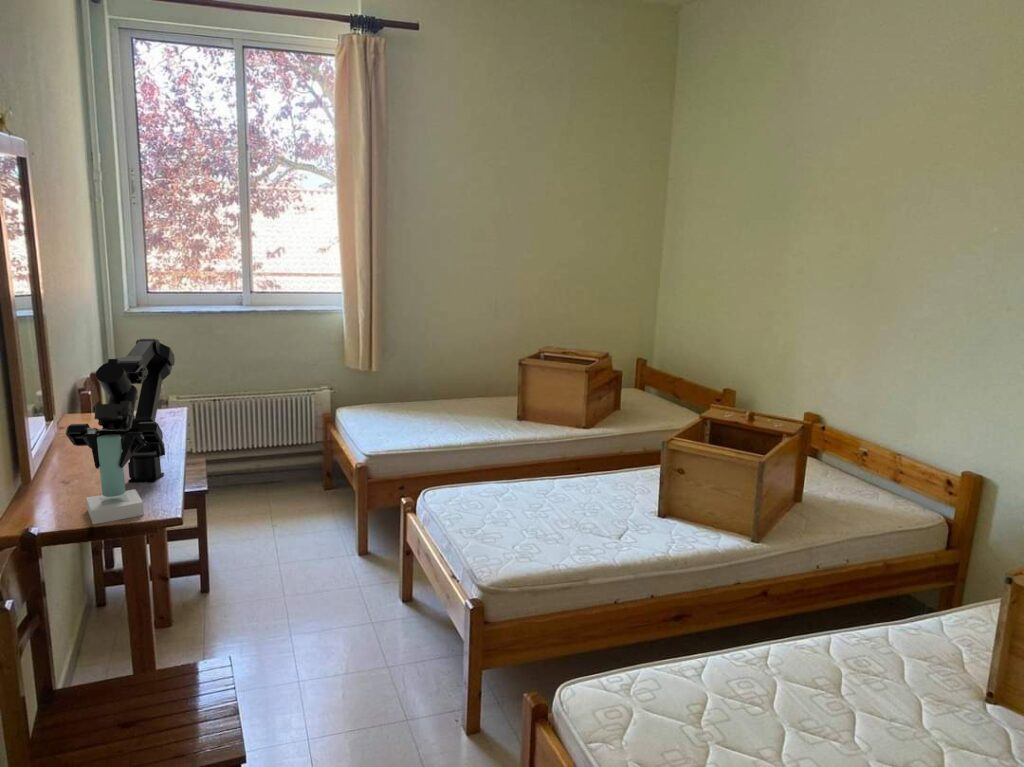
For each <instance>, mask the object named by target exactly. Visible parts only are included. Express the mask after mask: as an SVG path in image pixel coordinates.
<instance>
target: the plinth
mask: <svg viewBox="0 0 1024 767" xmlns="http://www.w3.org/2000/svg"><path fill="white" fill-rule="evenodd" d="M125 491H126V492H125V493H124V494H122V495H119V496H113V497H105V496H103V495H102V494H100V495H98V494H97V495H93V496H88V497H87V496H86V499H85V500H86V506H87V509H86V510H87V512H88V515H89V517H90V520H91V522H92V525H97V524H103V523H108V522H113V521H118V520H123V519H124V520H125V519H130V518H135V517H141V516H144V515H145V511H144V503H143V499H142V498H141V497H140V495H139V493H138V491H137V490H136V489H128V490H125Z"/></svg>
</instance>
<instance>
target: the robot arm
mask: <svg viewBox="0 0 1024 767" xmlns="http://www.w3.org/2000/svg"><path fill="white" fill-rule="evenodd" d="M175 360H176V359H175V354H174V352H173V350H172V349H171V346H170V347H169V346H167V345H165V344H163V343H161V342H160V340H159V339H158V338H157V339H156V338H139V339H136V341H135V345H134V346H133V348H132V349H131V350H130V351H129V352H128V354H127V355H126V356H124V357H117V358H108V359H107V362H105V363H104V364H102V365H101V366H99V367H98V368H97V369H96V371H95V377H96V379H97V382H99V385H100V386H101V388H102V390H103V391H104V393H105V394H107V395H108V399H107V403H97V404H95V405H94V420H98V423H97V424H98V426H100V427H102V428H97V427H91V426H90V425H89V424H88V423H71V424H69V425H68V426H67V427H66V431H65V436H66V437H67V438H68V440H69V441H70V442H71V443H72V445H73V446H76V447H88V448H89V449H90V450H91V453H92V458H93V462H94V467H95V468H96V470H98V469H99V470H100V466H99V456H98V445H97V437H99V436H103V435H111V434H116V435H120V436H121V447H122V455H121V459H120V467H121V468H123V469H124V467H125V466H126V465H127V466H128V468H127V469H128V478H129V479H128V481H127V482H128V483H155V482H157V481H158V480H160V478H162V477H164V475H165V472H162V468H161V466H162V465H161V457H163V456H165V455H166V448H165V443H164V441H163V438H164V433H163V431H162V429H161V427H160V424H159V423H158V422H157V421H156V417H157V412H158V406H159V401H160V395H161V389H162V384H163V381H164V380H165V379H166V378H167V377H169V375H171V372H172V369H173V366H175ZM135 384H136V385H140V386H141V388H140V393H139V396H138V392H139V391H138V388H137V387H136V386H135ZM136 403H137V406H136ZM135 408H136V409H135ZM135 410H136V412H135ZM157 479H158V480H157ZM156 480H157V481H156ZM154 481H155V482H154Z"/></svg>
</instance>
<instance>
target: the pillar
mask: <svg viewBox="0 0 1024 767" xmlns="http://www.w3.org/2000/svg"><path fill="white" fill-rule="evenodd" d="M97 445H98V456H99V474H100V484H101V485H100V486H101V495H103V496H105V497H113V496H119V495H122V494H124V493H125V492H126V491H127V490H126V483H125V471H124V467H123V468H121V467H120V459H121V455H122V447H121V436H120V435H116V434H111V435H103V436H99V437H97Z"/></svg>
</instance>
